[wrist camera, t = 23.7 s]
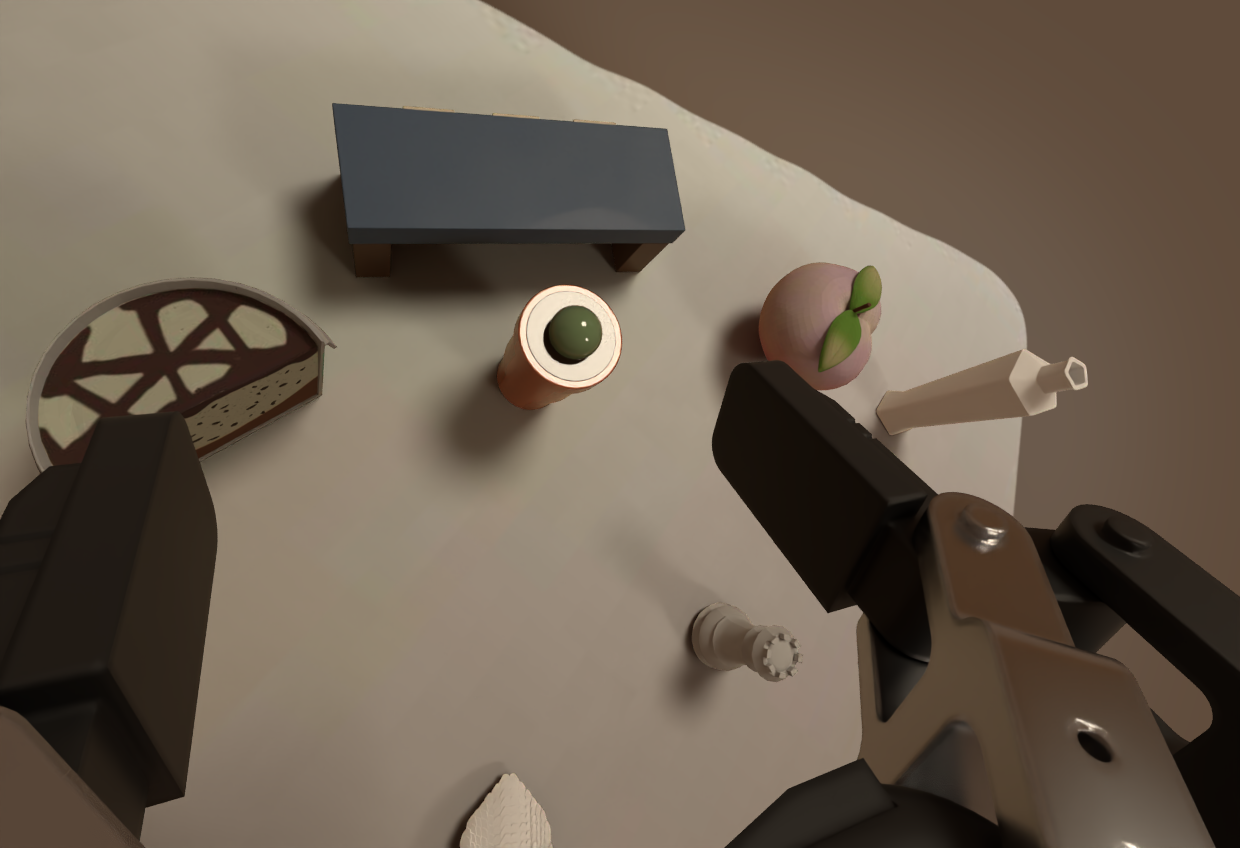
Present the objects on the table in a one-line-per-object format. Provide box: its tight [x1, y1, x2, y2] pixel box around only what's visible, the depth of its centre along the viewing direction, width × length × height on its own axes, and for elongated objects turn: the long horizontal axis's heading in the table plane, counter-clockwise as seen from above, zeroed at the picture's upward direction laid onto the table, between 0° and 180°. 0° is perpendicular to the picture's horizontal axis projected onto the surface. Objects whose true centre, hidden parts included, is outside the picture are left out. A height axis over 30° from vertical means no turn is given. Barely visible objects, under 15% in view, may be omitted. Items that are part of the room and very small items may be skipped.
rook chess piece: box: [692, 603, 803, 682], centre depth 40 cm, size 4×4×8 cm
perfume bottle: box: [876, 349, 1088, 435], centre depth 46 cm, size 5×4×15 cm
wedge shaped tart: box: [26, 277, 337, 473], centre depth 30 cm, size 12×6×10 cm, turn 127°
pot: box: [497, 285, 622, 410], centre depth 36 cm, size 6×6×12 cm
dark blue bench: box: [332, 103, 685, 277], centre depth 39 cm, size 20×7×7 cm, turn 101°
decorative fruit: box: [759, 263, 882, 390], centre depth 45 cm, size 9×8×10 cm
